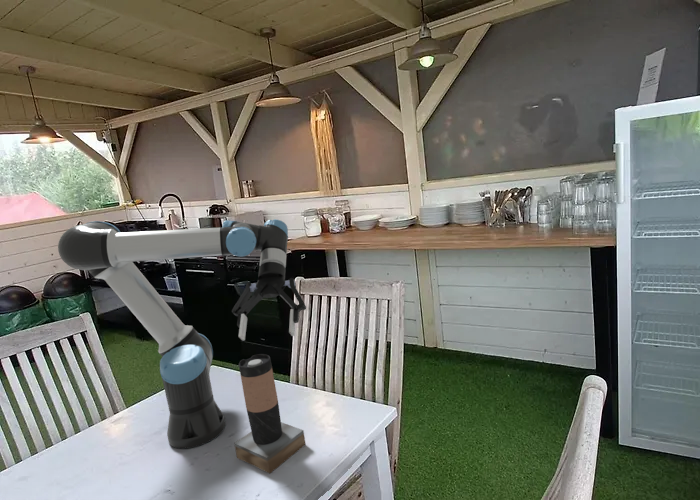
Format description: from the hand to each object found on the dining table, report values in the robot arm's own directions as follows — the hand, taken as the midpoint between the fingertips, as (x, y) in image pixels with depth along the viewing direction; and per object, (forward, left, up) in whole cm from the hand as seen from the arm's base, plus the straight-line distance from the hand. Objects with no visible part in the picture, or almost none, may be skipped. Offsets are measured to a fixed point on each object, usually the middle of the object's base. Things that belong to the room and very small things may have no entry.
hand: (266, 336), depth 117 cm
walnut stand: (+6, -9, -26) cm, 28 cm away
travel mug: (+6, -9, -22) cm, 24 cm away
